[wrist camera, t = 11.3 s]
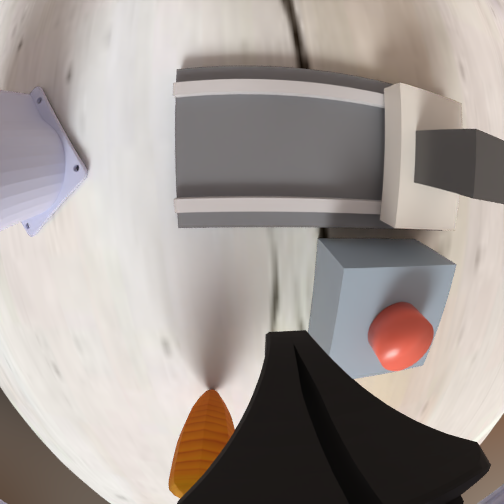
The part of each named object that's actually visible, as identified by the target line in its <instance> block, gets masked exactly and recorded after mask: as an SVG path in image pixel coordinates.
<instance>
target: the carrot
mask: <svg viewBox="0 0 504 504" xmlns="http://www.w3.org/2000/svg"><path fill="white" fill-rule="evenodd" d="M234 431H235V429H234V425H233V421H232V418H231V415H230V413H229V411H228V409H227V407H226V405H225V403H224V402H223V400H222V398H221V397H220V395H219V394H218V392H217V391H215V390H213V389H211V390H207V391H206V392H205V393H204V394H203V395H202V396H201V397H200V398H199V399H198V400H197V402H196V403H195V405H194V406H193V408H192V410H191V412H190V414H189V416H188V418H187V420H186V422H185V425H184V427H183V429H182V432H181V434H180V437H179V439H178V442H177V446H176V450H175V454H174V458H173V462H172V467H171V472H170V477H169V490H170V491H171V492H172V493H173V494H174V495H175V496H177V497H179V498H181V497H182V496H183V495H184V494H185V493H186V492H187V491H188V490H189V489H190V488H191V487H192V486H193V485H194V484H195V483H196V482H197V481H198V480H199V479H200V478H201V476H202V475H203V474H204V473H205V472H206V471H207V469H208V468H209V467H210V465H211V464H212V463H213V462H214V460H215V459H216V458H217V456H218V455H219V454H220V452H221V451H222V449H223V448H224V447H225V445H226V444H227V442H228V441H229V439H230V438H231V436H232V434H233V433H234Z"/></svg>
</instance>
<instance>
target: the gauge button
mask: <svg viewBox="0 0 504 504" xmlns="http://www.w3.org/2000/svg"><path fill="white" fill-rule="evenodd" d="M433 336H434V330H433V326H432V325H431V323H430V322H429V321H428V320H427V319H426V318H425V317H424V316H423V315H422V314H421V313H420V312H419V311H418V310H417V309H416V308H415V307H414V306H413V305H412V304H410V303H407V302H398V303H395V304H392V305H390V306H388V307H387V308H385V309H384V310H382V311H381V312H380V313H379V314H378V315H377V316H376V317H375V319H374V320H373V322H372V323H371V325H370V328H369V331H368V342H369V344H370V346H371V348H372V349H373V351H374V353H375V354H376V356H377V358H378V359H379V361H380V363H381V364H382V366H383V367H384V368H385V369H387V370H389V371H399V370H403V369H406V368H408V367H410V366H412V365H413V364H415V363H416V362H417V361H418V360H420V359H421V358H422V357H423V356H424V354H425V353H426V352H427V350H428V349H429V347H430V345H431V343H432V340H433Z"/></svg>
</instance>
